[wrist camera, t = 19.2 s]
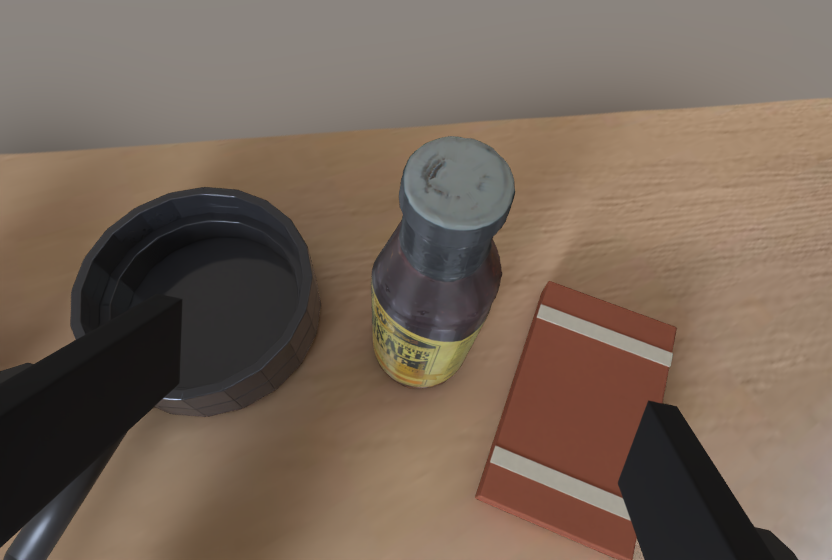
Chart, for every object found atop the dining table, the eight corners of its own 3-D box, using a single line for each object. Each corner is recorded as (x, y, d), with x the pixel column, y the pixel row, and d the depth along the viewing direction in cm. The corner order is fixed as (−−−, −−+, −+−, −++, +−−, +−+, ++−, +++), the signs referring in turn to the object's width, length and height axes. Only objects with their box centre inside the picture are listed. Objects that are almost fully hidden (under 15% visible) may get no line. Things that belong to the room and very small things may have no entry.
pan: (354, 266, 39) (349, 230, 35) (257, 453, 33) (236, 439, 29) (185, 202, 41) (159, 160, 36) (65, 367, 35) (17, 342, 30)
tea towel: (663, 337, 38) (678, 326, 36) (619, 560, 31) (633, 561, 29) (541, 292, 39) (548, 279, 37) (474, 498, 32) (479, 495, 31)
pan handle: (125, 392, 31) (110, 383, 30) (151, 403, 31) (138, 396, 30) (9, 567, 27) (-15, 569, 26) (39, 582, 27) (17, 585, 25)
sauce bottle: (357, 334, 37) (325, 140, 19) (432, 292, 38) (469, 77, 21) (407, 416, 34) (424, 283, 17) (485, 367, 36) (577, 198, 18)
